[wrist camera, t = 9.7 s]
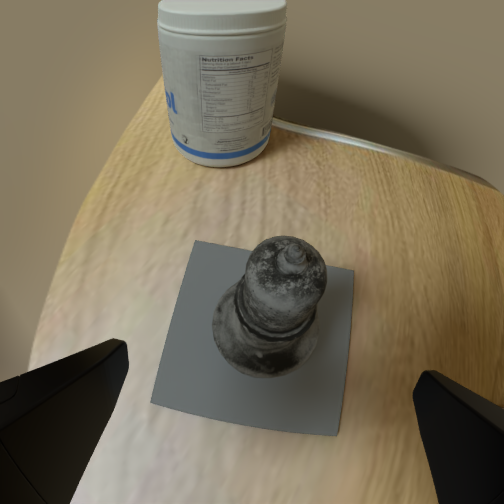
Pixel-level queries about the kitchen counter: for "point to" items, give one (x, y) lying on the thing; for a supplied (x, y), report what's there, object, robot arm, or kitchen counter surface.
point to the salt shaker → (272, 309)
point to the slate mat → (242, 386)
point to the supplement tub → (221, 75)
